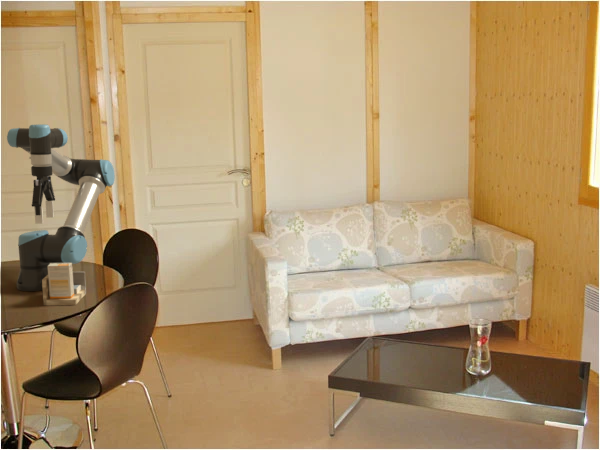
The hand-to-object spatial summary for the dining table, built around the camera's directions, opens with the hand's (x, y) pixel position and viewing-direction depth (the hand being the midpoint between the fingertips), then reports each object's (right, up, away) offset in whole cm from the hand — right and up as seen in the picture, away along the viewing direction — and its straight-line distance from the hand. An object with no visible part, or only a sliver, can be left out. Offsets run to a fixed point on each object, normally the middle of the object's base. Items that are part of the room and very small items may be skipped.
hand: (44, 220), depth 270 cm
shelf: (+7, -31, +3) cm, 32 cm away
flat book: (+7, -28, +6) cm, 30 cm away
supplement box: (+7, -30, -1) cm, 30 cm away
